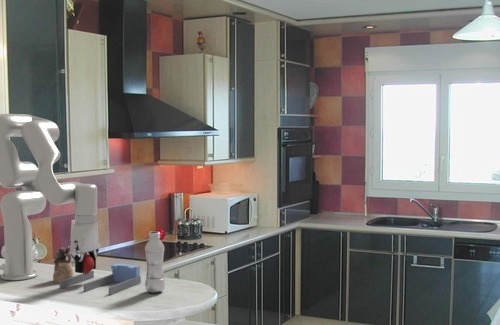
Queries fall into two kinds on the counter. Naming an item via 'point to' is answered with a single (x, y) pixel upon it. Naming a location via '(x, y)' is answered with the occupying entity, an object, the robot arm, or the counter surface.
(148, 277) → the plastic bottle
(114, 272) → the blue bracket
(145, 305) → the counter surface
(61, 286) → the grey parallel strips
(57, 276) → the painted ceramic spouted vessel
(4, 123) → the robot arm
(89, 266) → the pomegranate
